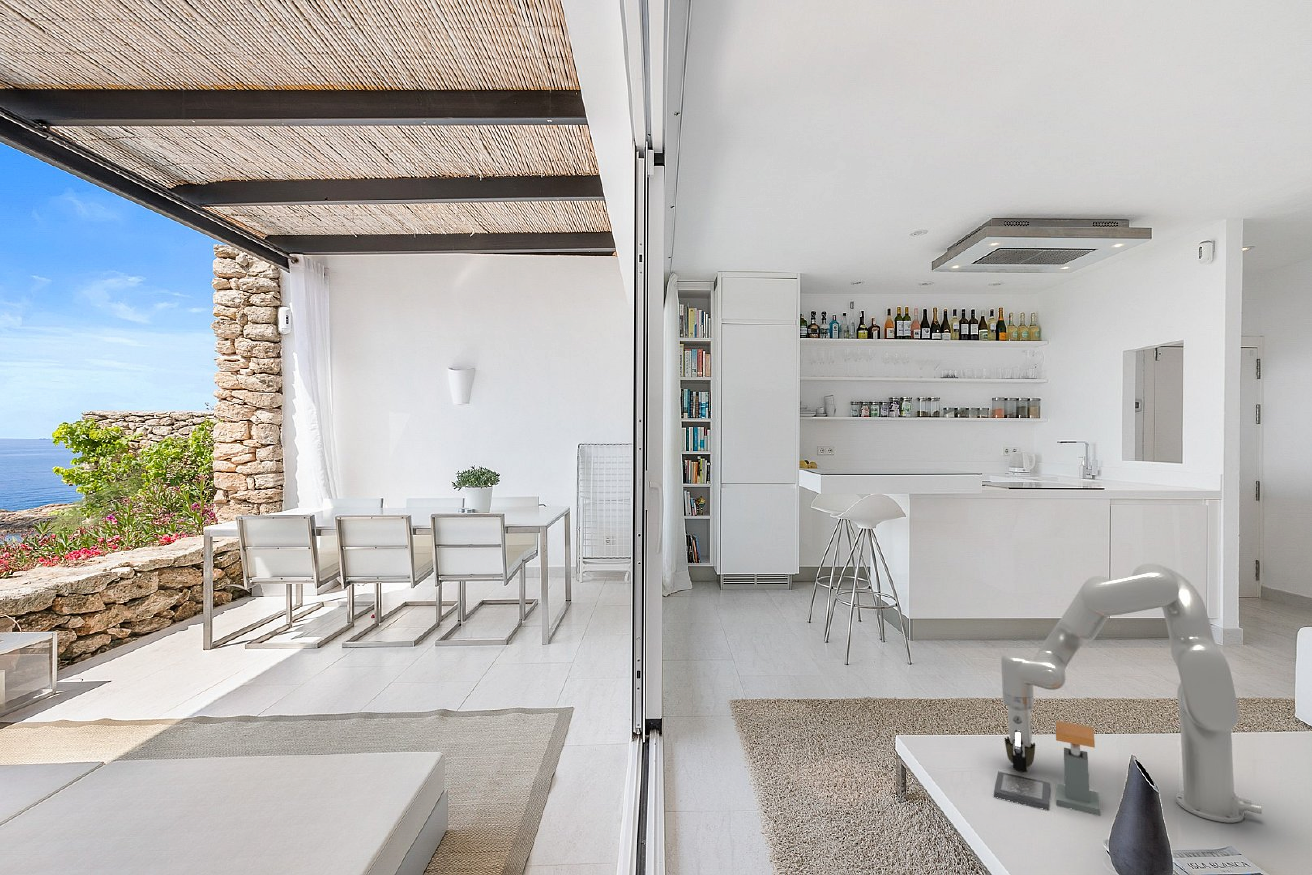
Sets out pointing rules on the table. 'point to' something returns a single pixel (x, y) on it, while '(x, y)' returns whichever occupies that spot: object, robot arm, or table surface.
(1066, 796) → the press stand
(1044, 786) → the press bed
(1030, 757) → the wire cup brush
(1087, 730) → the handle
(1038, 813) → the table surface
